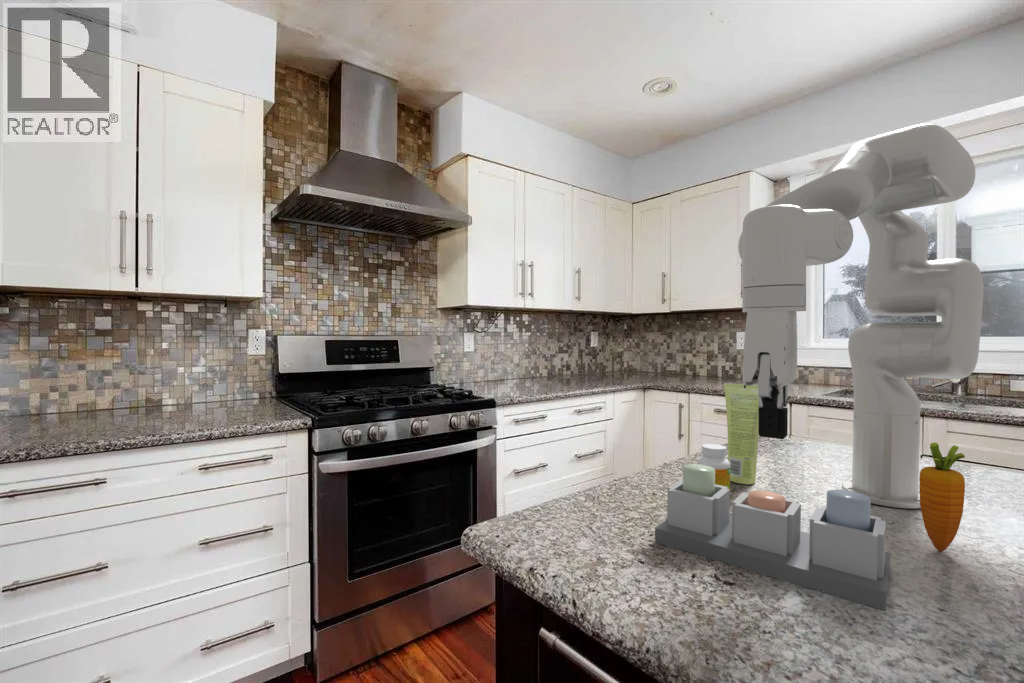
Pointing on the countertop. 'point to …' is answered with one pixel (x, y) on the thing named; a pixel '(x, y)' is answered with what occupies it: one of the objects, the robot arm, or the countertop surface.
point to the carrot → (942, 497)
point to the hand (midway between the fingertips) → (772, 436)
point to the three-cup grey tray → (780, 543)
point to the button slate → (848, 509)
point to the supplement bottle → (716, 463)
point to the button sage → (699, 479)
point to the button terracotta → (767, 500)
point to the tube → (742, 431)
